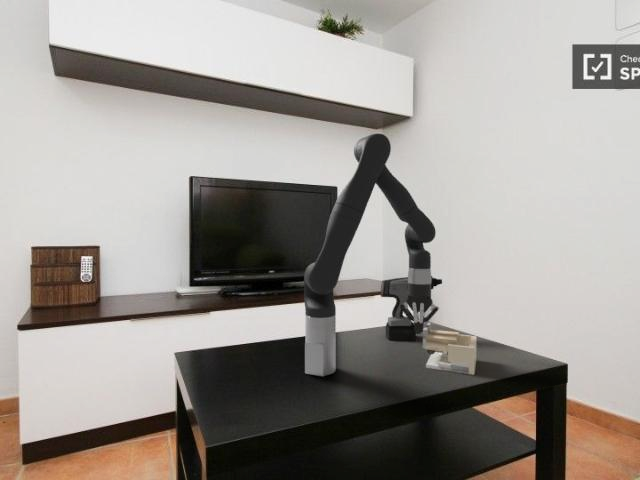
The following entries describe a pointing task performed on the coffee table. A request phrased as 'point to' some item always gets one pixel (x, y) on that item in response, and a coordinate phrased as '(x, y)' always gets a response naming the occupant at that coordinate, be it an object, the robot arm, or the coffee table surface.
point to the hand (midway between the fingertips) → (418, 333)
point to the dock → (456, 357)
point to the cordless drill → (398, 323)
